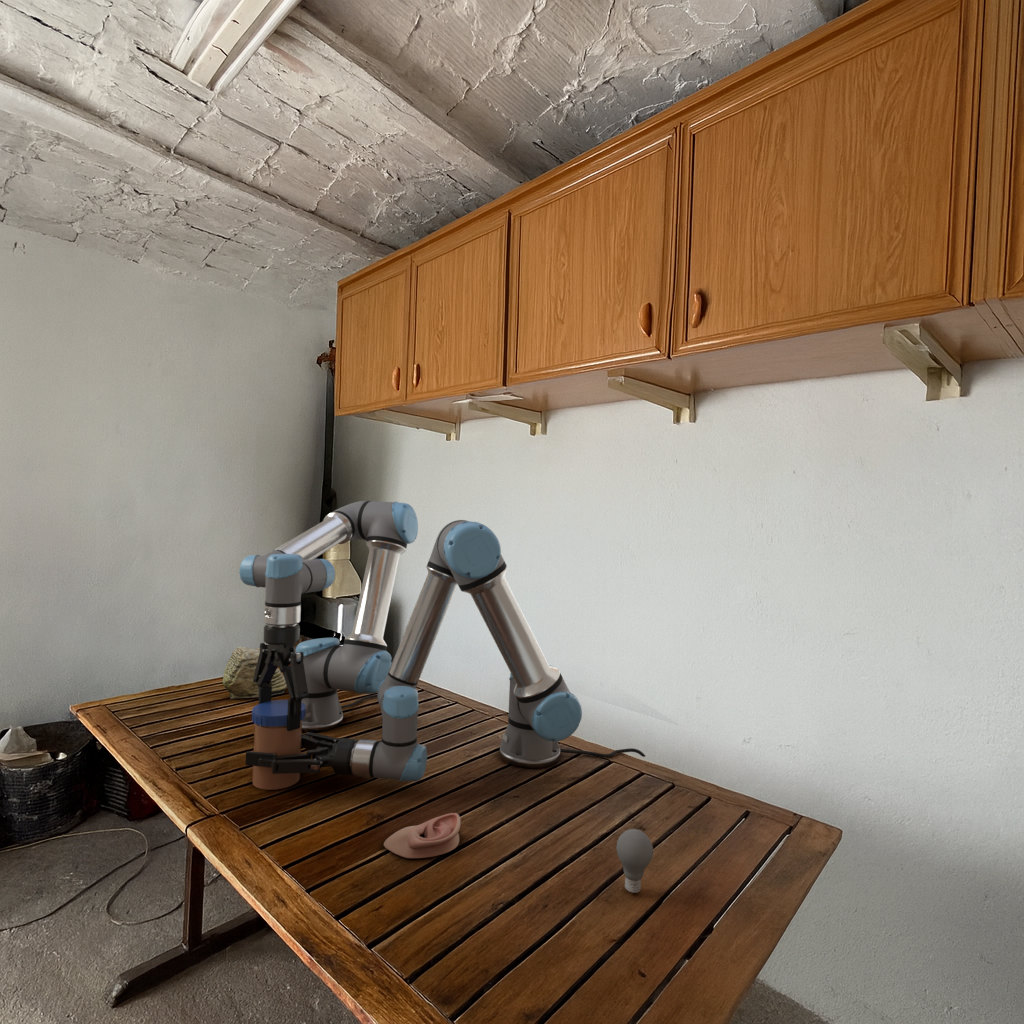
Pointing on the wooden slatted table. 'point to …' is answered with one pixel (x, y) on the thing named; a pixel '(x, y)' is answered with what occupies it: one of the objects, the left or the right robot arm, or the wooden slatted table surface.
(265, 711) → the lid
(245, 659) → the fossil
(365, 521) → the left robot arm
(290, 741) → the jar
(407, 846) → the anatomical model
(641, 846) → the light bulb
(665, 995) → the wooden slatted table surface
